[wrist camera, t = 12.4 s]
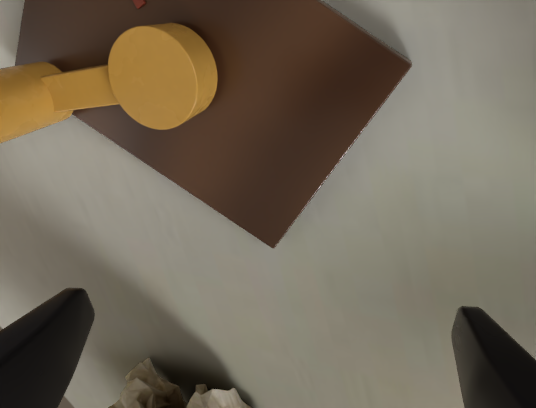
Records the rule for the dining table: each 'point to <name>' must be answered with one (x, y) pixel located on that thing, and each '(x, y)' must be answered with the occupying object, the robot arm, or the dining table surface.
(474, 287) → the dining table surface
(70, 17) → the plate
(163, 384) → the coral
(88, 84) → the yellow crank handle
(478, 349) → the robot arm
